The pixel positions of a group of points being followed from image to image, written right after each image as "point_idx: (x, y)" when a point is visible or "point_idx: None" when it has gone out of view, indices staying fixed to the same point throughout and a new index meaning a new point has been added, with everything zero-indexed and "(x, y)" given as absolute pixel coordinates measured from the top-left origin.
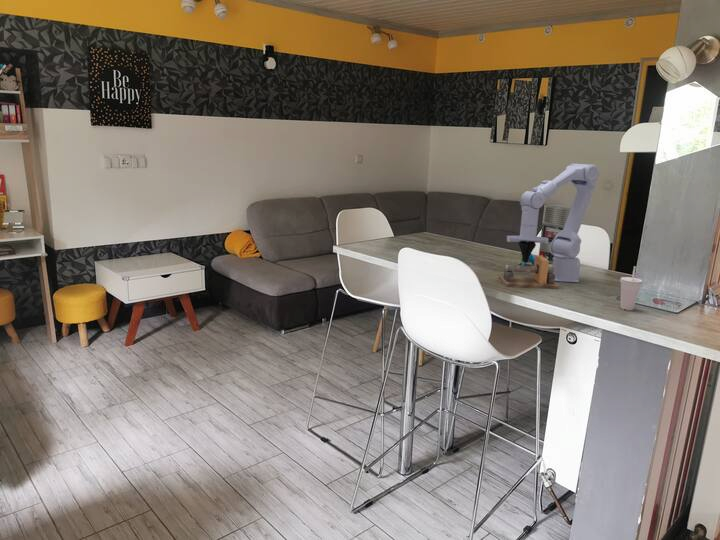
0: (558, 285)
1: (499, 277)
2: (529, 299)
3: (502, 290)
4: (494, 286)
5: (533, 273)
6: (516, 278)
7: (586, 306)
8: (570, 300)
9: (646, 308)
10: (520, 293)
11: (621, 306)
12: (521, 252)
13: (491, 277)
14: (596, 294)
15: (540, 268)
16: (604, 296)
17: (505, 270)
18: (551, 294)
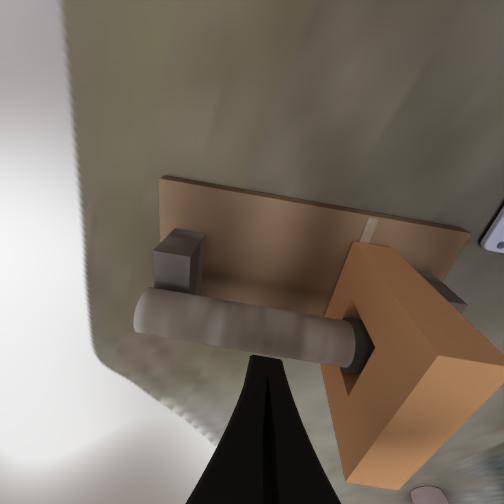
0: None
1: (161, 193)
2: (201, 430)
3: (139, 361)
4: (117, 317)
5: (360, 259)
6: (248, 241)
7: (329, 475)
8: (321, 444)
9: (485, 496)
10: (194, 390)
11: (413, 499)
12: (227, 426)
13: (124, 148)
14: (475, 413)
15: (333, 406)
16: (480, 429)
17: (154, 280)
18: (300, 403)
